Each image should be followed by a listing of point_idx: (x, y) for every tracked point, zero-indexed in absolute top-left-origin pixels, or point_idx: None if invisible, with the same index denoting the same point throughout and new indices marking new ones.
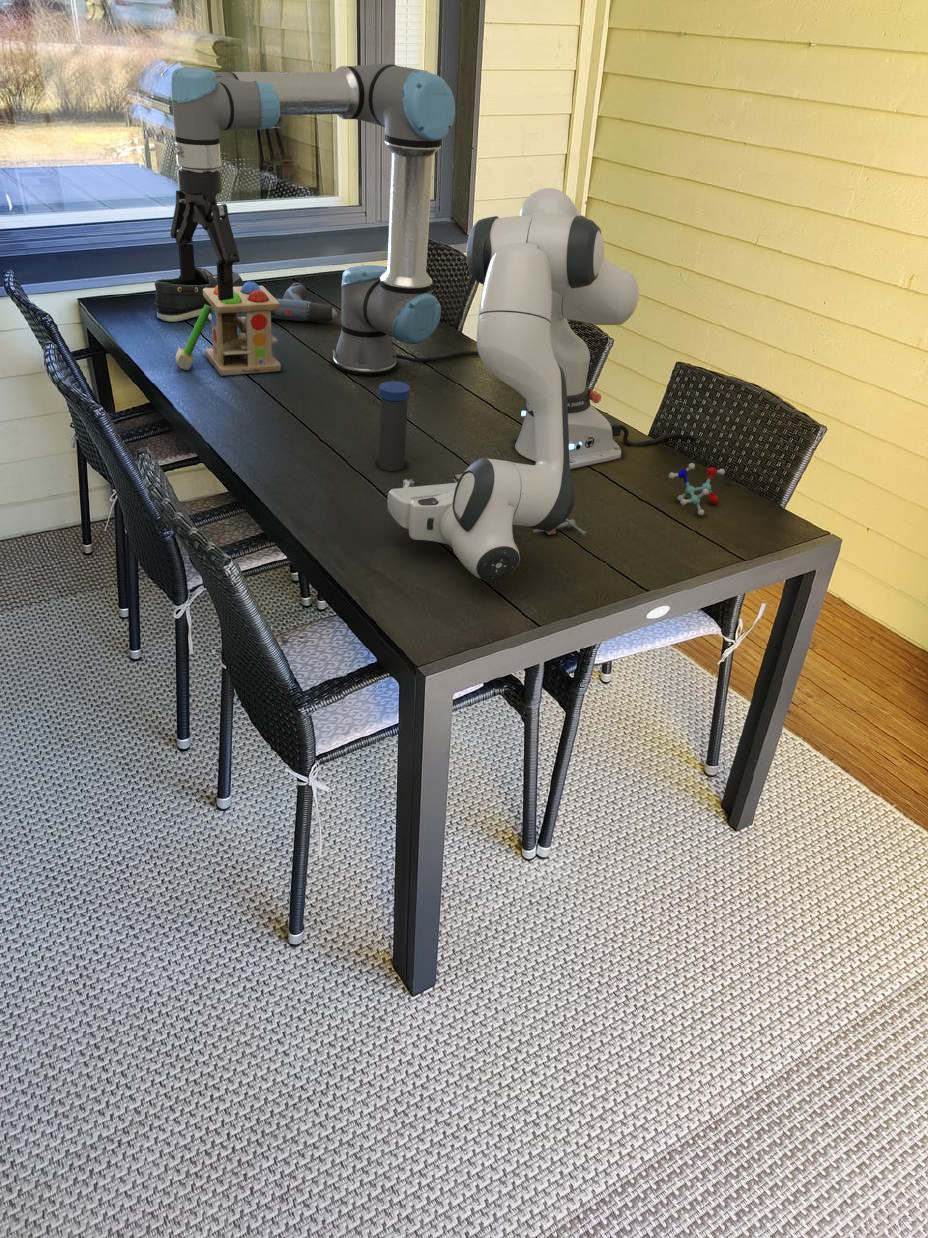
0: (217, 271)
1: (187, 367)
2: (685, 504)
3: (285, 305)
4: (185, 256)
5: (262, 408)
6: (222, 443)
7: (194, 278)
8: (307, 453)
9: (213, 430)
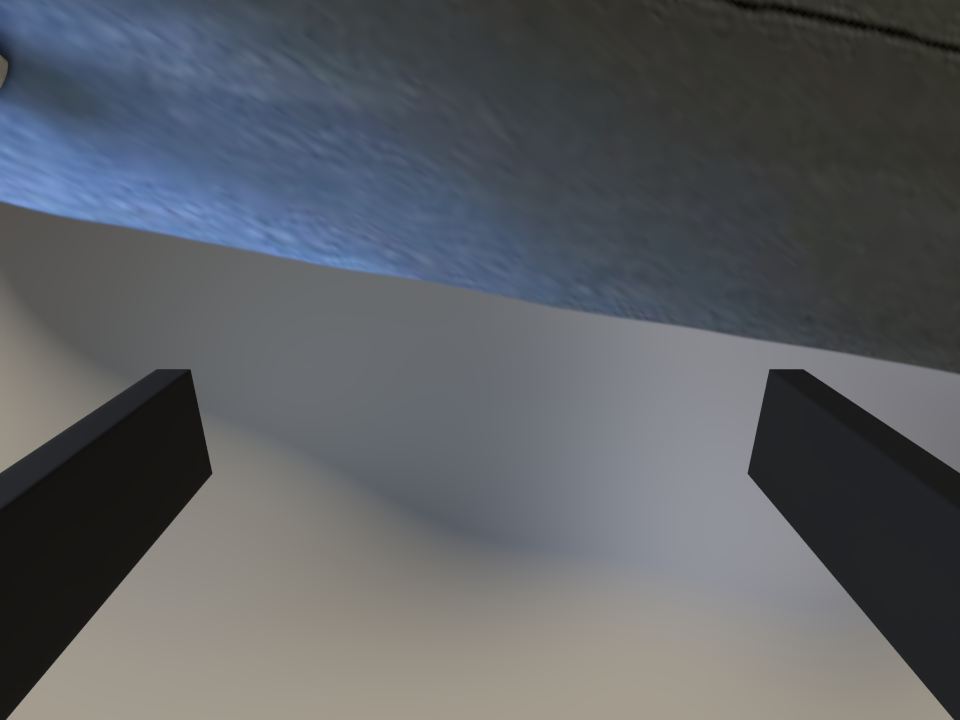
0: (914, 660)
1: (1, 67)
2: None
3: None
4: (67, 586)
5: (425, 23)
6: (579, 279)
7: (187, 381)
8: (783, 109)
9: (494, 255)
